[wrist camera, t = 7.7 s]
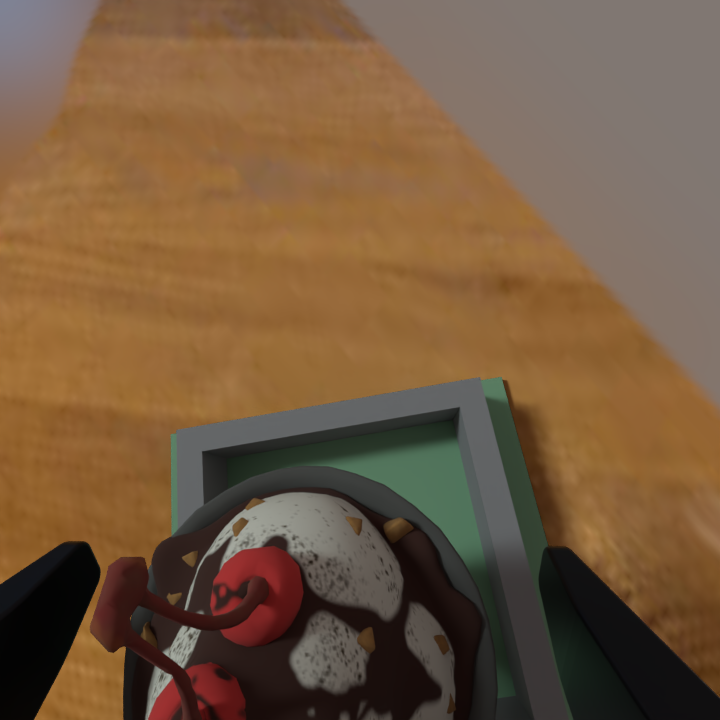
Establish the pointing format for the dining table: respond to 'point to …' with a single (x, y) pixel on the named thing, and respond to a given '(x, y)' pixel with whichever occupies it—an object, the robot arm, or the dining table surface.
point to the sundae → (301, 610)
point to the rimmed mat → (415, 499)
